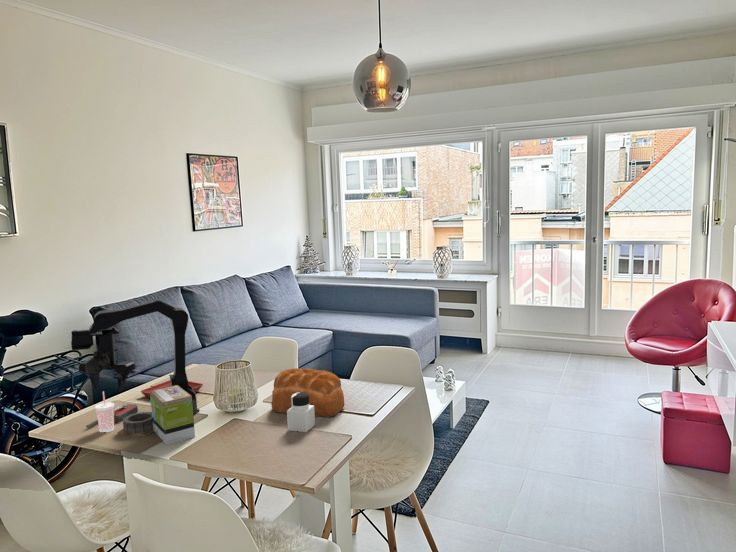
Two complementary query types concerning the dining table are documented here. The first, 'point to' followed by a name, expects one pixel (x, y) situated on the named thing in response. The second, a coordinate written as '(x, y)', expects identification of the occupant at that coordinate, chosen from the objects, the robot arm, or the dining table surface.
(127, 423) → the cup holder
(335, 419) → the dining table surface
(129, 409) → the walkie-talkie
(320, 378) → the bread
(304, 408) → the medicine bottle
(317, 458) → the dining table surface
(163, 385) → the plant saucer
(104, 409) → the beverage cup
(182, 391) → the tea box
